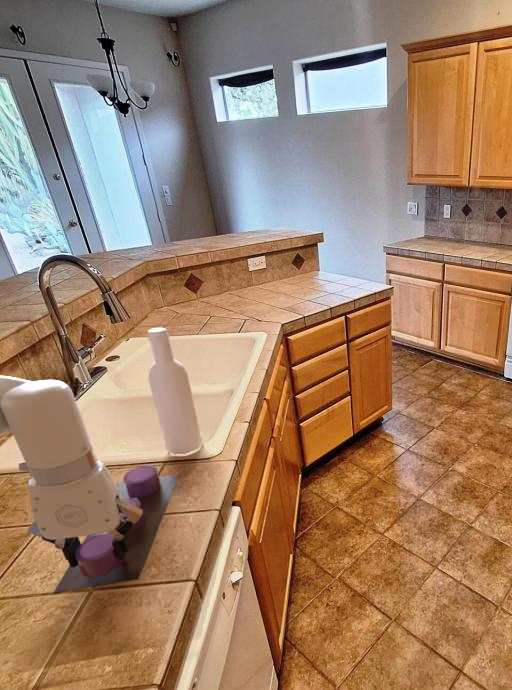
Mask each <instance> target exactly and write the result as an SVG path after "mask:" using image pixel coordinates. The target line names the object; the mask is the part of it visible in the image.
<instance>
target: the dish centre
mask: <svg viewBox="0 0 512 690" xmlns="http://www.w3.org/2000/svg"><path fill="white" fill-rule="evenodd" d="M123 501H125V502H127V503H129V504H131V505H133V506H136V507H138V508H140V509H142V510H143V508H142V505H141V502H140V500H138V499H136V498H125V499H123ZM119 516H120V517H121V518H122V519H123V520H124V521H125V520H126V519H127V517H128V516H126V515H124V514H122V513H121V514H119ZM144 522H145V515H144V511H143V513H142V515H141V517H140V519H139V520H138V521H137V522H136V523H135V524H134V525H133V526H132V528H131V529H130V530H129V531H128V532H127V534H128V533H131V532H133V531H135V530H136V529H138V528H139V527H140V526H142V524H143V523H144ZM117 528H118V527H117Z"/></svg>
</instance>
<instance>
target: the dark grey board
mask: <svg viewBox="0 0 512 690" xmlns="http://www.w3.org/2000/svg"><path fill="white" fill-rule="evenodd" d="M179 478H180V474H175V475H174V474H173V475H165V476H159V479H160V482H161V486H160V488H159V489H158V490H157V491H156V492H154V493H152V494H150V495H148V496H145V497H139V498H136V499H138V500H140V502H141V505H142V508H143V511H144V515H145V522H144V523H143V524H142V526H140V527H139V528H138V529H136V530H135V531H133V532H131V533H128V537H129V539H130V542H131V547H130V550H129V551H127V553H126V555H125V558H124V560H123V562H122V563H121V565H120V566H119V567H118V568H116V569H115V570H114V571H112V572H110V573H108V574H106V575H104V576H100V577H96V578H89V577H86V576H84V575H83V574H82V572H81V570H80V567H79V565H77V566H76V567H72V568H71V567H70V564H68V566H67V569H66V571H65V572H64V574H63V576H62V577H61V579H60V580H59V582H58V584H57V585H56V587H55V589H54V591H53V594H54V593H62V592H67V591H74V590H80V589H88V588H91V587H92V588H93V587H99V586H104V585H105V586H106V585H110V584H111V585H112V584H118V583H125V582H131V581H137V580H139V579H140V577H141V575H142V572H143V570H144V567H145V565H146V562H147V560H148V557H149V554H150V552H151V549H152V547H153V544H154V541H155V539H156V536H157V534H158V531H159V528H160V526H161V523H162V522H163V521H162V520H163V518H164V516H165V513H166V511H167V508H168V505H169V503H170V501H171V498H172V495H173V493H174V490H175V488H176V485H177V482H178V480H179ZM116 485H117V487H118V489H119V491H120V494H121V496H122V499H125V498H135V497H131V496H129V494H128V492H127V489H126V486H125V483H124V480H123V481H118V482H117V483H116ZM105 533H108V532H105ZM99 534H103V533H99ZM99 534H92V535H85V536H86V537H85V538H84V540H83V542H84V541H86V540H87V539H89V538H91V537H93V536H96V535H99Z"/></svg>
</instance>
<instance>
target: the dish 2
mask: <svg viewBox="0 0 512 690" xmlns="http://www.w3.org/2000/svg"><path fill="white" fill-rule="evenodd" d="M159 477H160V475H159V472H158V469H157V467H155V466H153V465H141V466H137V467H134V468H133V469H131V470H128V471H127V472H126V473H125V474H124V476H123V481H124V483H125V486H126V489H127V492H128V494H129V496H131V497H135V498H139V497H145V496H148V495H150V494H152V493H154V492H156V491H157V490H158V489H159V488H160V486H161V482H160V479H159Z"/></svg>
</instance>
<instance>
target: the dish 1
mask: <svg viewBox="0 0 512 690" xmlns="http://www.w3.org/2000/svg"><path fill="white" fill-rule="evenodd" d="M113 539H114V538H113V537H112V536H111V535H110V534H109V533H103V534H99V535H96V536H93V537H91V538H89V539H87V540H86V541H84V540H83V541H82V543H81V545H80V546H79V547H78V548H77V549H76V551H75V558H76V560H77V563H78V565H79V567H80V570H81V572H82V574H83V575H84V576H86V577H89V578H96V577H100V576H104V575H106V574H108V573H110V572H112V571H114V570H115V569H116V568H118V567H119V566H120V565H121V563H122V562H123V560H124V559H123V560H119V559H118V558H117V556H116V553H115V550H114V548H113V545H112V541H113Z"/></svg>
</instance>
